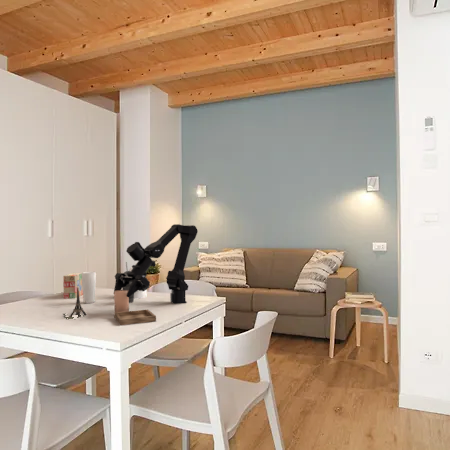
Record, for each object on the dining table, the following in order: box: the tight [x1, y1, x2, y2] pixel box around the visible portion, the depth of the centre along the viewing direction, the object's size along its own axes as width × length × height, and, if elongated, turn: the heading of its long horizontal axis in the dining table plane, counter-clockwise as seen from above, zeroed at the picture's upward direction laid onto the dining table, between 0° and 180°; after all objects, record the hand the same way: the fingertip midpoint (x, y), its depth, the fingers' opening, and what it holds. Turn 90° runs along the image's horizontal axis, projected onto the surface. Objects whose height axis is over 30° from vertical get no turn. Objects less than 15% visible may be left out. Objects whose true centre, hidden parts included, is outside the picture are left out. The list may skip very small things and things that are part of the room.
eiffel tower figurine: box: [62, 288, 88, 320], centre depth 170 cm, size 15×10×13 cm
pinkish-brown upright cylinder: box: [113, 289, 130, 314], centre depth 172 cm, size 6×6×10 cm
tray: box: [113, 309, 157, 326], centre depth 162 cm, size 14×14×2 cm
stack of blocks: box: [62, 272, 83, 300], centre depth 222 cm, size 21×6×12 cm, turn 179°
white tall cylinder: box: [81, 271, 97, 304], centre depth 199 cm, size 7×7×15 cm
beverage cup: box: [123, 261, 135, 304], centre depth 199 cm, size 7×7×20 cm
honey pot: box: [121, 262, 148, 300], centre depth 215 cm, size 13×13×18 cm
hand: (120, 295), depth 172 cm, fingers open, 9 cm apart
